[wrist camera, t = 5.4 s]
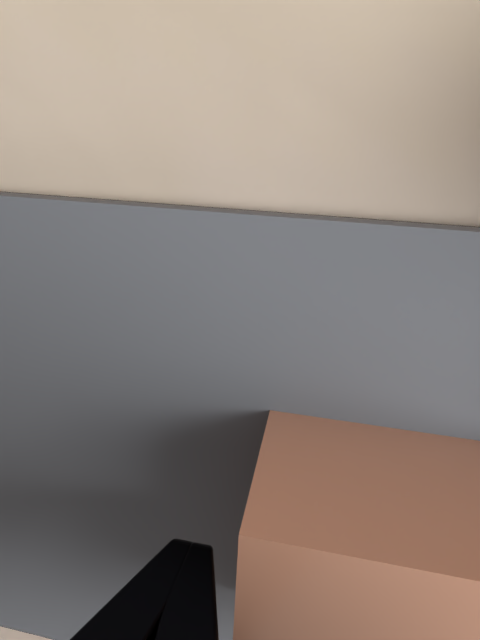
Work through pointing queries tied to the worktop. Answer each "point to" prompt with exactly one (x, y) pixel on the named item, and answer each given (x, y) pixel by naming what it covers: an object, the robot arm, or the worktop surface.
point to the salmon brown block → (359, 535)
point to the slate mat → (199, 374)
